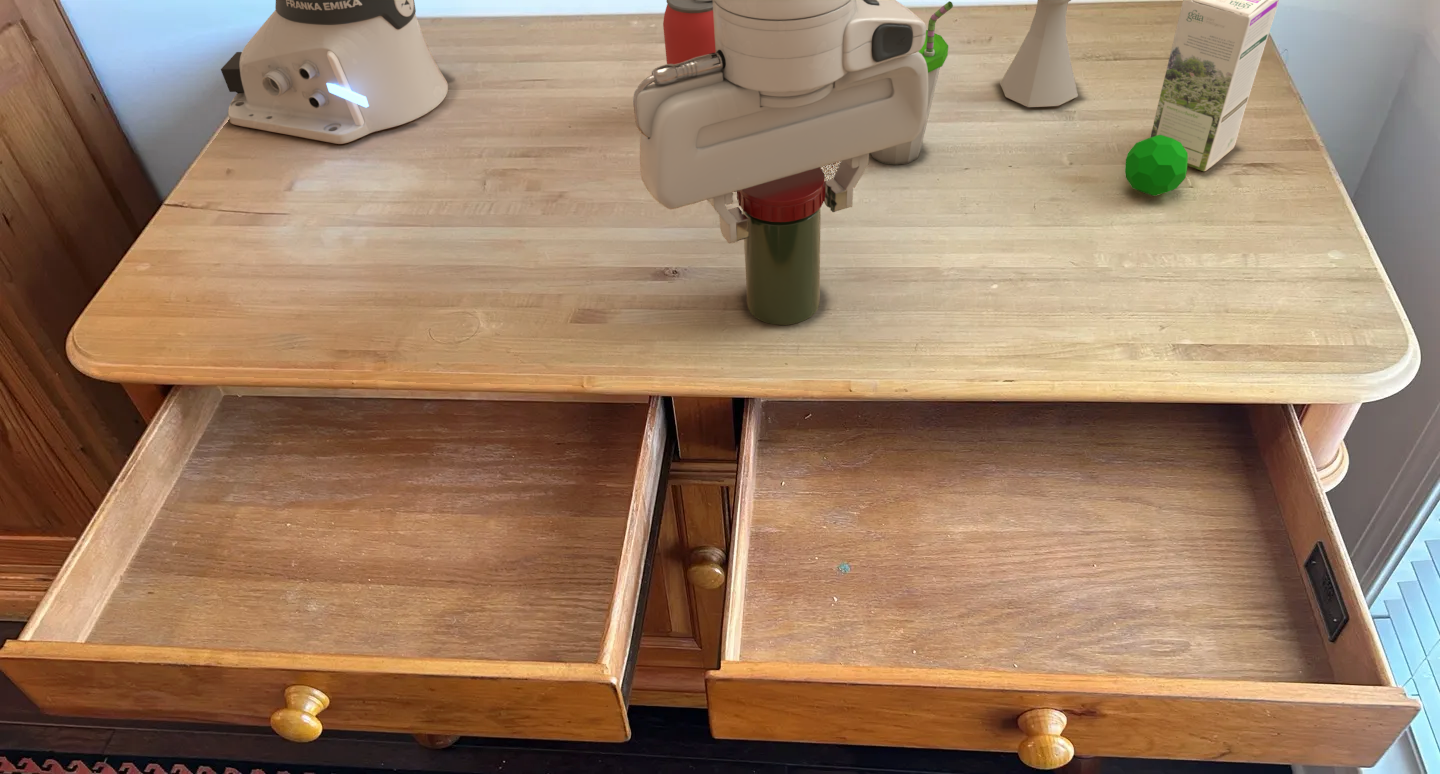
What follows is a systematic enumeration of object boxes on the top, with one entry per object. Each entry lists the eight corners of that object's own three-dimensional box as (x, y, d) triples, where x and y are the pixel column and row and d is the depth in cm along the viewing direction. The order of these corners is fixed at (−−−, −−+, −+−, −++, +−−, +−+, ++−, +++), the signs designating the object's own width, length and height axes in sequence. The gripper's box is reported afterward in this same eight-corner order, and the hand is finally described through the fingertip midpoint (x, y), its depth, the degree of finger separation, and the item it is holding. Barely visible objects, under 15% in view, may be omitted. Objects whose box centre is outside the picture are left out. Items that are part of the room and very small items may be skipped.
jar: (741, 322, 80) (734, 205, 73) (754, 278, 84) (749, 163, 77) (814, 328, 79) (814, 210, 72) (823, 283, 83) (825, 168, 76)
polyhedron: (1109, 192, 90) (1120, 143, 87) (1135, 168, 93) (1147, 119, 90) (1165, 212, 88) (1179, 161, 84) (1190, 187, 90) (1205, 137, 87)
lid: (809, 229, 72) (809, 208, 71) (724, 214, 74) (723, 193, 73) (836, 182, 76) (836, 162, 75) (755, 169, 78) (754, 149, 77)
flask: (1051, 70, 107) (1067, -29, 101) (1090, 101, 102) (1111, -1, 95) (987, 83, 106) (999, -16, 99) (1023, 115, 101) (1039, 14, 94)
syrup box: (1236, 148, 94) (1285, -12, 85) (1203, 175, 91) (1251, 12, 82) (1176, 128, 97) (1217, -29, 88) (1143, 153, 95) (1182, -7, 85)
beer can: (731, 134, 101) (724, 12, 93) (665, 130, 102) (652, 10, 94) (744, 101, 106) (738, -17, 98) (680, 98, 107) (670, -19, 99)
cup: (837, 142, 99) (841, -17, 89) (911, 124, 101) (924, -34, 91) (876, 182, 93) (885, 18, 83) (953, 162, 95) (971, -1, 85)
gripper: (648, 96, 61) (669, 286, 71) (949, 19, 67) (931, 205, 76) (612, 54, 66) (636, 238, 75) (897, -15, 71) (886, 165, 80)
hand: (787, 221), depth 76 cm, fingers open, 7 cm apart
